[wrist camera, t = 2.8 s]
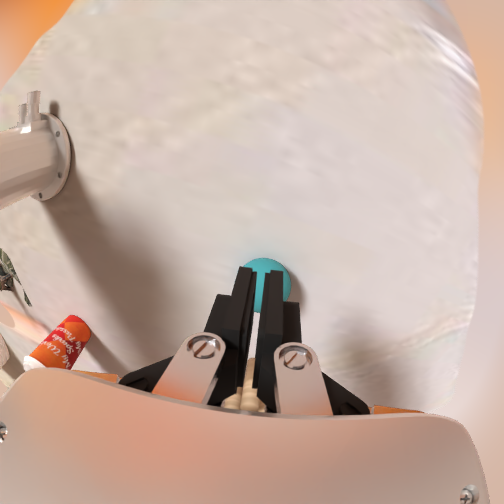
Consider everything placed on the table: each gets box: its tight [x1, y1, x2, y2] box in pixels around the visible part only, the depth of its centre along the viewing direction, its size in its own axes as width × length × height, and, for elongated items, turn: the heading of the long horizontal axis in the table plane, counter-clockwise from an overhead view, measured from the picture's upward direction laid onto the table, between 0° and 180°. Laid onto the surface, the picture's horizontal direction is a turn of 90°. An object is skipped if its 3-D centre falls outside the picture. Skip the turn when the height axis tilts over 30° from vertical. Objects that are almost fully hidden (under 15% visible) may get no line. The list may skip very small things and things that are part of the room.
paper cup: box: [23, 315, 91, 372], centre depth 36 cm, size 8×8×14 cm
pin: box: [224, 378, 245, 410], centre depth 38 cm, size 2×2×8 cm
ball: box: [243, 258, 291, 313], centre depth 30 cm, size 6×6×6 cm
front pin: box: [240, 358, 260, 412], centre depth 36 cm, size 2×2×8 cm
